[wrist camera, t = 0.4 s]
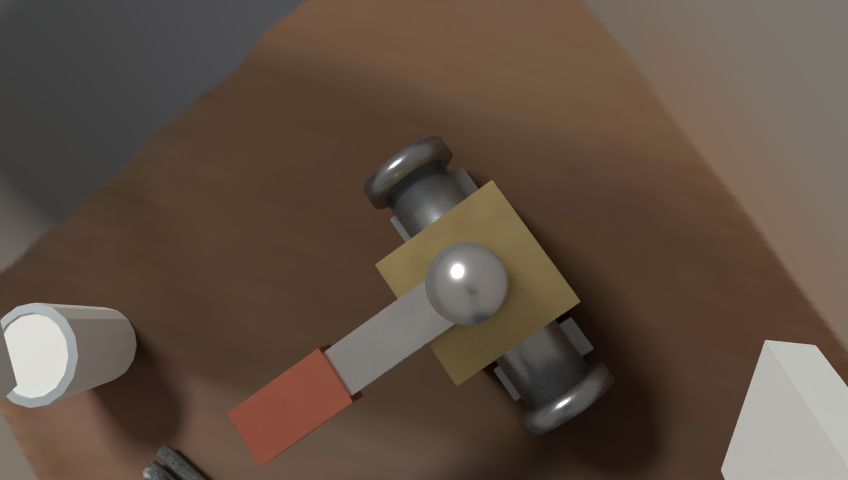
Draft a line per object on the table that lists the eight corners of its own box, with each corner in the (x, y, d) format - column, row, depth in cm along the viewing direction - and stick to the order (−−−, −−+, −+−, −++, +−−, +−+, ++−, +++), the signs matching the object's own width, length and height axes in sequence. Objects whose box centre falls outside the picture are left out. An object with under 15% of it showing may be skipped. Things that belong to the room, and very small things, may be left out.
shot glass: (106, 280, 50) (34, 281, 43) (160, 346, 48) (95, 358, 42) (48, 342, 50) (-31, 352, 44) (101, 409, 49) (27, 430, 42)
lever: (479, 228, 33) (474, 225, 31) (525, 292, 33) (523, 293, 31) (240, 400, 35) (223, 406, 33) (278, 463, 35) (263, 473, 33)
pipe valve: (622, 360, 42) (643, 387, 31) (520, 427, 43) (508, 476, 32) (462, 141, 45) (434, 100, 34) (370, 209, 46) (316, 189, 35)
